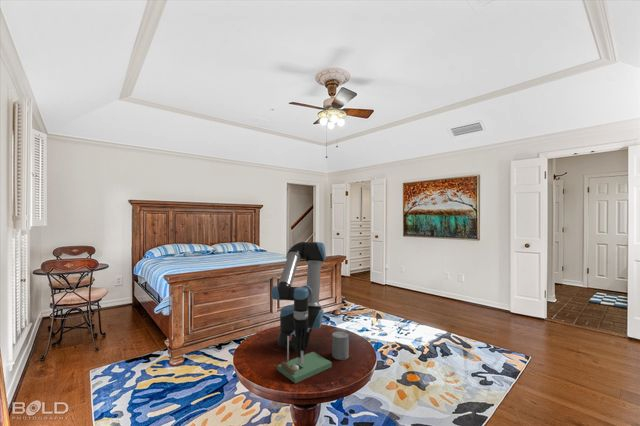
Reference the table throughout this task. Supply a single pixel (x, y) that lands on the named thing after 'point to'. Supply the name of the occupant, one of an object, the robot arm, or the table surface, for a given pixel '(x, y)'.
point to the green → (303, 365)
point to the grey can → (340, 345)
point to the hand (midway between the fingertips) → (300, 362)
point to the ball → (295, 367)
